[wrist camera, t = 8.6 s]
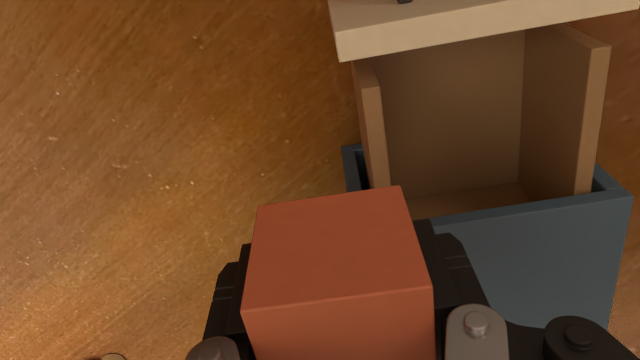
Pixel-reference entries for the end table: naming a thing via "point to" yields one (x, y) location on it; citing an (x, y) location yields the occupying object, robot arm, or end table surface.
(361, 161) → the cabinet
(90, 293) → the end table surface
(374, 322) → the block
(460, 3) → the drawer
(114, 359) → the grandmother figurine
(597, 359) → the robot arm
